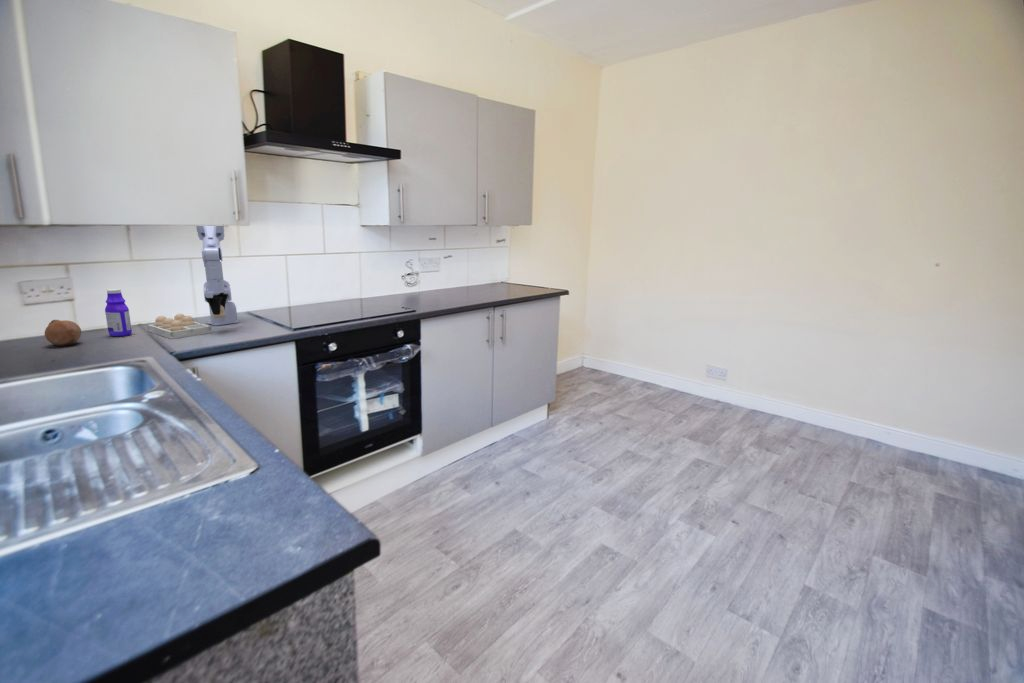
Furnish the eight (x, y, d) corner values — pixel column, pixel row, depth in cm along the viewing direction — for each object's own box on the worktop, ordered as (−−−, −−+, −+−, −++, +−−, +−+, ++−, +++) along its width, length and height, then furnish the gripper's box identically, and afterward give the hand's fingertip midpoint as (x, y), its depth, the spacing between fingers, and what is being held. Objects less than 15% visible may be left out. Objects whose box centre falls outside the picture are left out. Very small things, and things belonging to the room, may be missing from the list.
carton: (187, 325, 208) (185, 311, 206) (211, 332, 196) (209, 317, 195) (148, 331, 197) (145, 316, 195) (171, 339, 185) (169, 323, 184)
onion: (53, 354, 173) (33, 329, 170) (82, 341, 181) (63, 317, 178) (62, 348, 168) (41, 322, 165) (92, 335, 175) (72, 310, 173)
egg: (222, 315, 200) (220, 303, 199) (227, 317, 198) (225, 304, 197) (211, 317, 197) (210, 304, 196) (216, 318, 195) (215, 305, 194)
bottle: (136, 334, 192) (129, 288, 188) (123, 337, 186) (115, 290, 182) (118, 333, 192) (111, 288, 188) (105, 336, 187) (97, 290, 183)
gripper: (218, 281, 188) (223, 316, 191) (232, 276, 202) (236, 310, 205) (198, 281, 187) (202, 317, 190) (213, 276, 201) (217, 310, 204)
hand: (218, 313), depth 197 cm, fingers closed on egg, 4 cm apart
